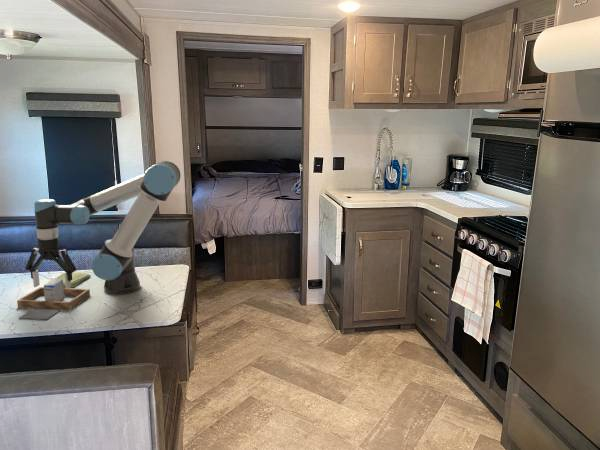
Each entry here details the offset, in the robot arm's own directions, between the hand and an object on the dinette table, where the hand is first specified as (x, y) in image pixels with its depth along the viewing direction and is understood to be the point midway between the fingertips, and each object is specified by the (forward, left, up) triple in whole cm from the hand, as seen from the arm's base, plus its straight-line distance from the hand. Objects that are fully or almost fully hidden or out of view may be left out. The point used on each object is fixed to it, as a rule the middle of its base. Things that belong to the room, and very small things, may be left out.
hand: (52, 287), depth 185 cm
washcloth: (+6, -22, -7) cm, 24 cm away
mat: (-2, +13, -6) cm, 15 cm away
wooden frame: (0, 0, -6) cm, 6 cm away
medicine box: (0, 0, -7) cm, 7 cm away
